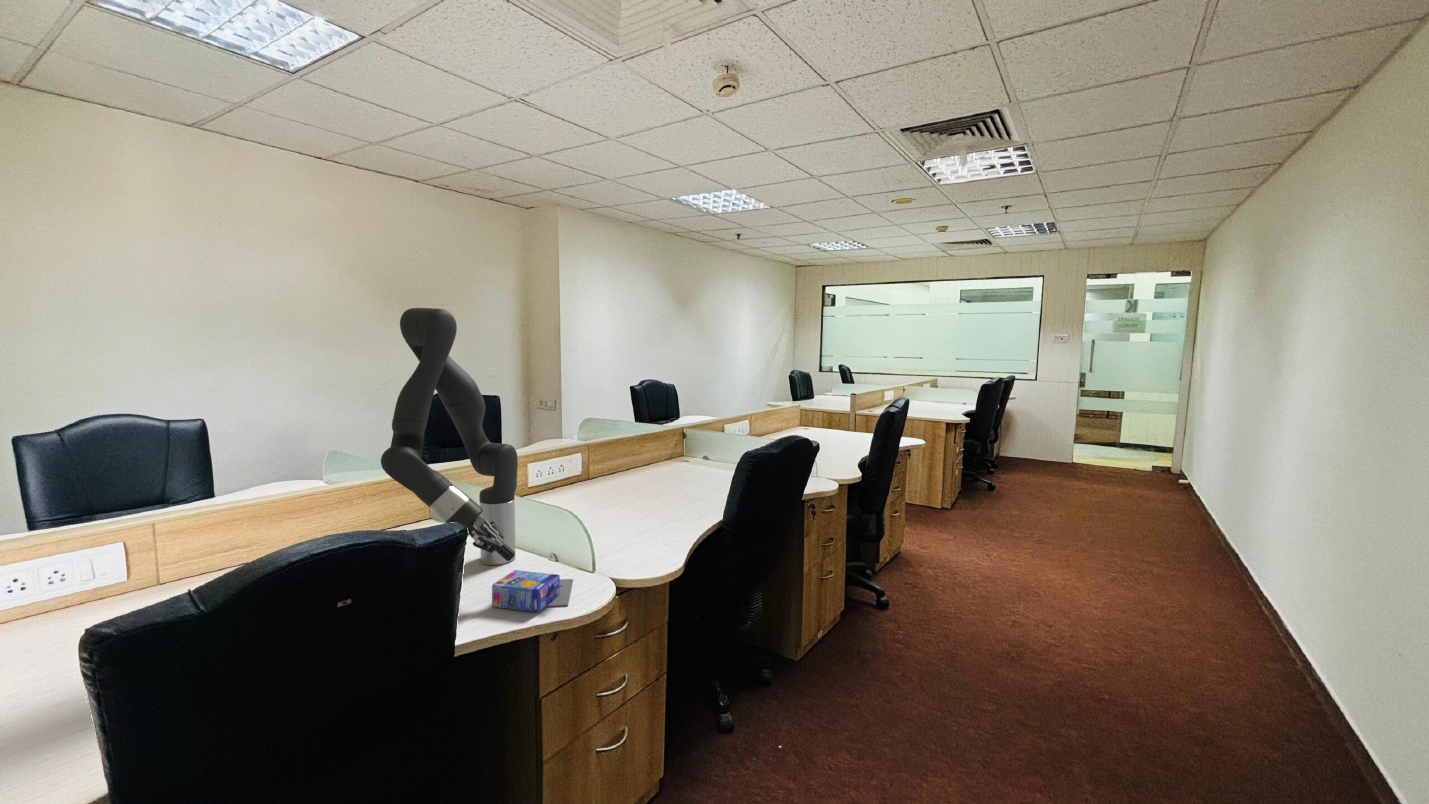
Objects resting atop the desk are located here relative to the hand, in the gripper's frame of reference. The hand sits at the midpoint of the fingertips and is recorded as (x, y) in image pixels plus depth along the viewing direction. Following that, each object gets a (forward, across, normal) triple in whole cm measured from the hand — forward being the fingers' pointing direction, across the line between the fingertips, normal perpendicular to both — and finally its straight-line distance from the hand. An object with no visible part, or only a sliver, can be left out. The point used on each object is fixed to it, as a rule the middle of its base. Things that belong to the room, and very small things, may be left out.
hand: (512, 557), depth 134 cm
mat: (+12, +1, +2) cm, 12 cm away
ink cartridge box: (+3, -1, +6) cm, 7 cm away
